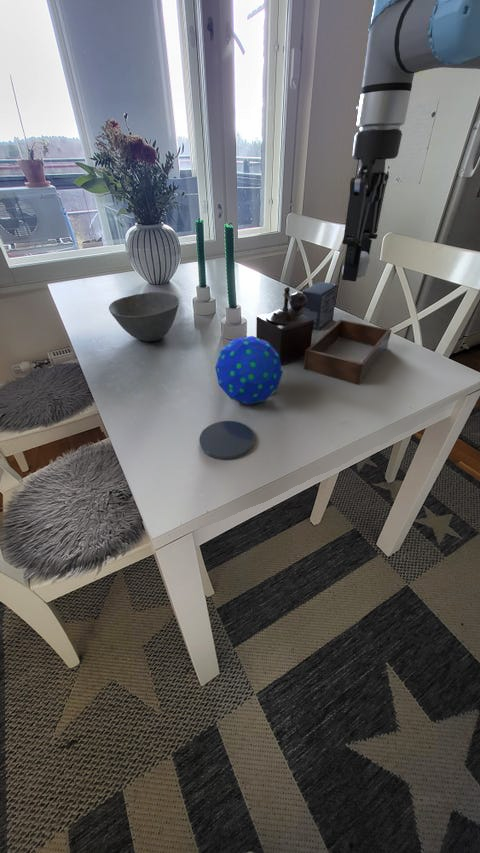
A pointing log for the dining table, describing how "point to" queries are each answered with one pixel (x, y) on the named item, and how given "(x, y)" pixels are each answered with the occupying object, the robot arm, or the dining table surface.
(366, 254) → the gemstone
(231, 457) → the coaster
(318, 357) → the open box
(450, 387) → the dining table surface
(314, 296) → the small box
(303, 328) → the pepper mill
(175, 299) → the bowl
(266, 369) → the blue polka dot ball
